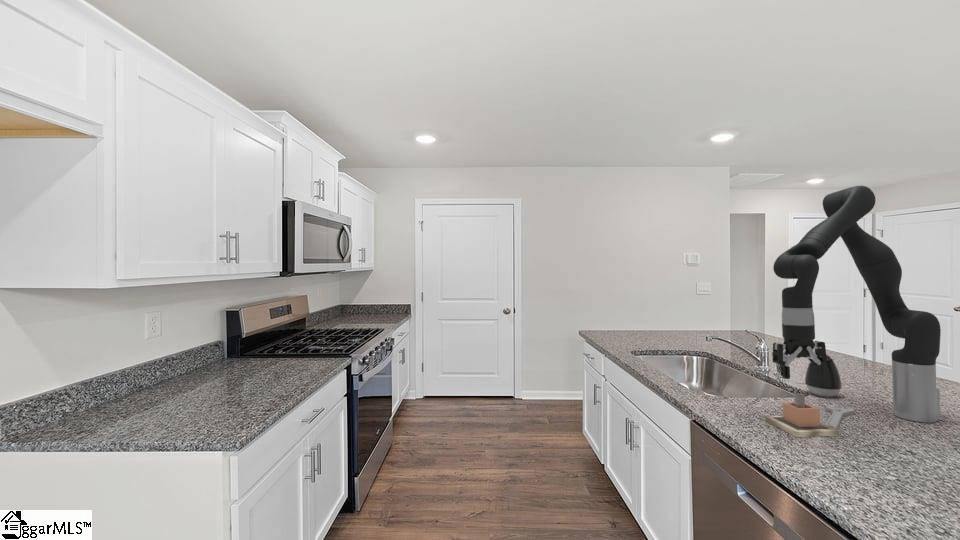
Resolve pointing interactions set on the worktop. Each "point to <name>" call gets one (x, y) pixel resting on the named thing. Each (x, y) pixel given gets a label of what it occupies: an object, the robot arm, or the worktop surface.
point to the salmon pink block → (801, 415)
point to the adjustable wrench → (837, 415)
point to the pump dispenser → (824, 379)
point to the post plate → (801, 431)
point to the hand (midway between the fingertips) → (800, 377)
